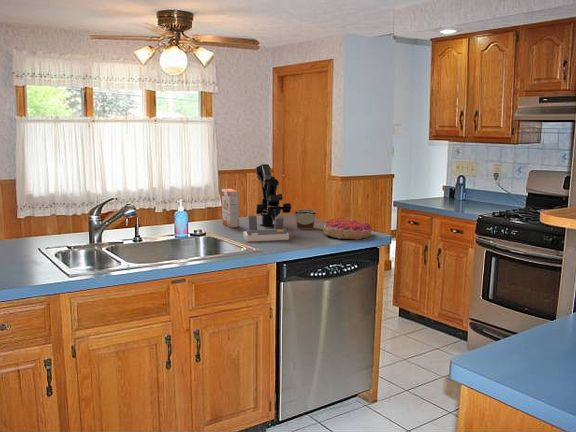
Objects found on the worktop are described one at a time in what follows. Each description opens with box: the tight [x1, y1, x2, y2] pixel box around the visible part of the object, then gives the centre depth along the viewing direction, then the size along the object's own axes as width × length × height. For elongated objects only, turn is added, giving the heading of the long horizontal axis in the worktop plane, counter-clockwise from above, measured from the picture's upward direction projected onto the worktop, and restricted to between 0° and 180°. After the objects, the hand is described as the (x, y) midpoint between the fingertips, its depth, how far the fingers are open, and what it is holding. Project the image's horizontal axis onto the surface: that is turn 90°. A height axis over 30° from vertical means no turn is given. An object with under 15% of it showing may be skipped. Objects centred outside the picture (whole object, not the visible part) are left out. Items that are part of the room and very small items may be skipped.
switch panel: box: [242, 227, 290, 242], centre depth 281 cm, size 11×22×6 cm, turn 102°
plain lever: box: [248, 215, 258, 230], centre depth 281 cm, size 2×4×8 cm, turn 101°
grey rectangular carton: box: [273, 215, 284, 229], centre depth 280 cm, size 2×4×8 cm, turn 102°
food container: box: [294, 209, 317, 230], centre depth 310 cm, size 12×6×10 cm, turn 84°
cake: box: [323, 218, 372, 240], centre depth 288 cm, size 25×25×8 cm
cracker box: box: [221, 188, 240, 229], centre depth 315 cm, size 14×6×21 cm, turn 25°
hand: (275, 221), depth 290 cm, fingers closed
